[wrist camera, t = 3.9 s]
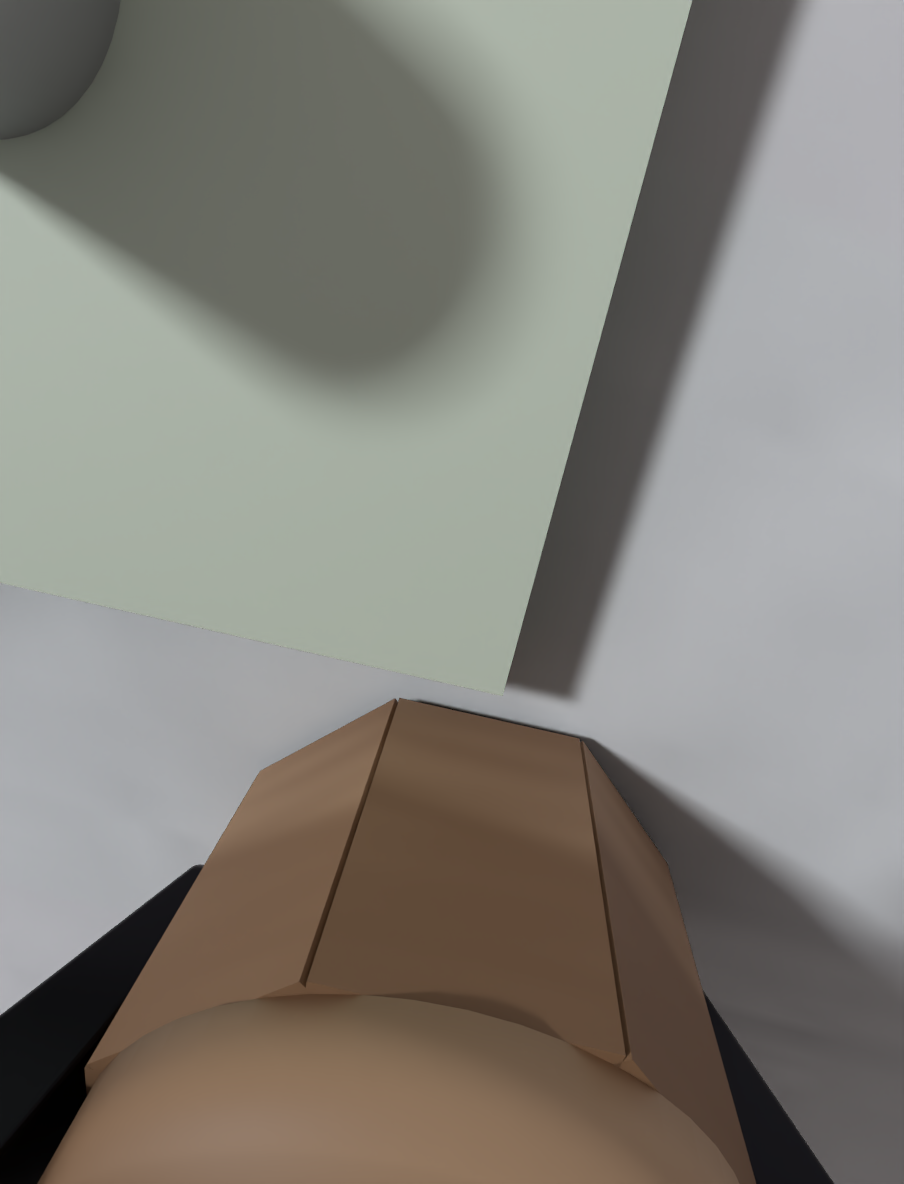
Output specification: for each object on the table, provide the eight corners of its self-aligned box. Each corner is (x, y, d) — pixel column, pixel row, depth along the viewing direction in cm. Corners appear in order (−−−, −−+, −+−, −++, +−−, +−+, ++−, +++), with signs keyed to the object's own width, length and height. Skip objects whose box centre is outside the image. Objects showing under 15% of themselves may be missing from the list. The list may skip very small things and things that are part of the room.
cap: (589, 1050, 11) (651, 1693, 6) (235, 968, 11) (-15, 1527, 6) (723, 764, 8) (1054, 1466, 3) (260, 659, 8) (-145, 1177, 3)
